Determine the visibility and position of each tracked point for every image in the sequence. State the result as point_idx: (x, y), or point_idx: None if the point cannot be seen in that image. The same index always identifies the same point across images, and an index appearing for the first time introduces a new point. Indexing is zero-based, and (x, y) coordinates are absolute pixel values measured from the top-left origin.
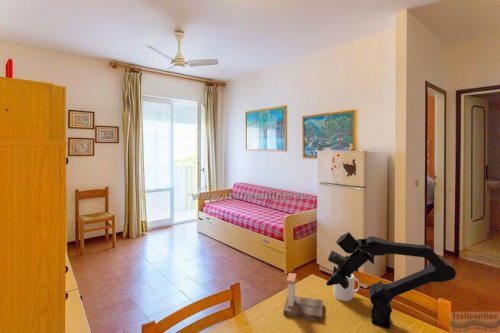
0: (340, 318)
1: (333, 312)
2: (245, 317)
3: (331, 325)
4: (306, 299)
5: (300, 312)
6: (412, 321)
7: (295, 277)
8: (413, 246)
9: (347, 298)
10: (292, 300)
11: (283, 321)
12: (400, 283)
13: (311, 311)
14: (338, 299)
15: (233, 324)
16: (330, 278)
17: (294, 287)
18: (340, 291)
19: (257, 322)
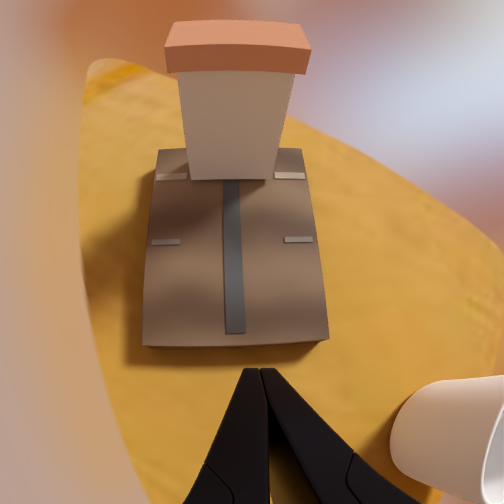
0: None
1: None
2: (134, 77)
3: (131, 398)
4: (298, 239)
5: (155, 222)
6: None
7: (257, 53)
8: None
9: (398, 465)
10: (188, 152)
11: (118, 173)
12: None
13: (179, 280)
14: (397, 415)
15: (102, 70)
16: (240, 461)
17: (249, 114)
18: (421, 434)
19: (109, 106)
